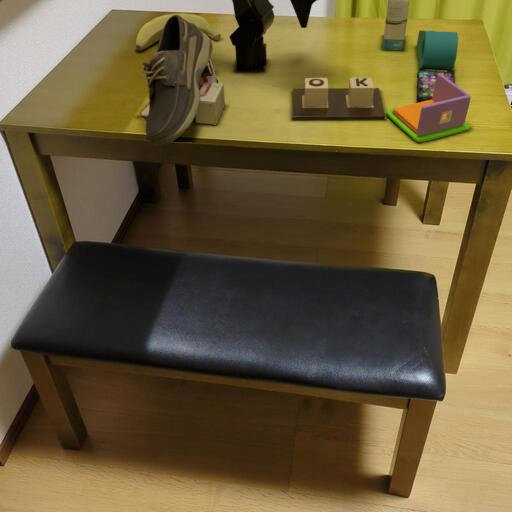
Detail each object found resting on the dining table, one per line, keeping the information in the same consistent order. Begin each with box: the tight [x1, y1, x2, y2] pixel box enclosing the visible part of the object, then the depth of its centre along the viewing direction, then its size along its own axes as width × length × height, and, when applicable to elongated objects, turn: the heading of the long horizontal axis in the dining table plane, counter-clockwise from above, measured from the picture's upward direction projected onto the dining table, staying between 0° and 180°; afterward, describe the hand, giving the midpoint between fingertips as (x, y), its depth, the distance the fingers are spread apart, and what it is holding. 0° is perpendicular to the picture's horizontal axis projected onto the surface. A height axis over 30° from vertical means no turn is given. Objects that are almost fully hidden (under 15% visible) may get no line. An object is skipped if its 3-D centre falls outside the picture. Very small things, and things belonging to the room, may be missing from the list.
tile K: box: [348, 77, 375, 106], centre depth 117 cm, size 4×4×4 cm
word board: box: [292, 87, 386, 121], centre depth 119 cm, size 18×12×1 cm, turn 87°
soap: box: [141, 104, 150, 118], centre depth 121 cm, size 10×4×1 cm, turn 162°
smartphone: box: [416, 67, 456, 103], centre depth 122 cm, size 8×1×15 cm
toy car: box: [199, 56, 219, 90], centre depth 126 cm, size 8×18×8 cm, turn 10°
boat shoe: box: [141, 15, 213, 147], centre depth 111 cm, size 11×29×11 cm
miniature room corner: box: [386, 74, 472, 143], centre depth 110 cm, size 12×12×7 cm
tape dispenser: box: [416, 30, 459, 70], centre depth 130 cm, size 7×15×8 cm, turn 172°
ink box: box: [382, 0, 411, 51], centre depth 137 cm, size 8×5×12 cm, turn 168°
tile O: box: [304, 77, 329, 107], centre depth 117 cm, size 4×4×4 cm
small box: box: [195, 82, 226, 126], centre depth 116 cm, size 5×4×8 cm
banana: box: [135, 12, 221, 52], centre depth 145 cm, size 14×6×20 cm
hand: (303, 19), depth 122 cm, fingers open, 9 cm apart
